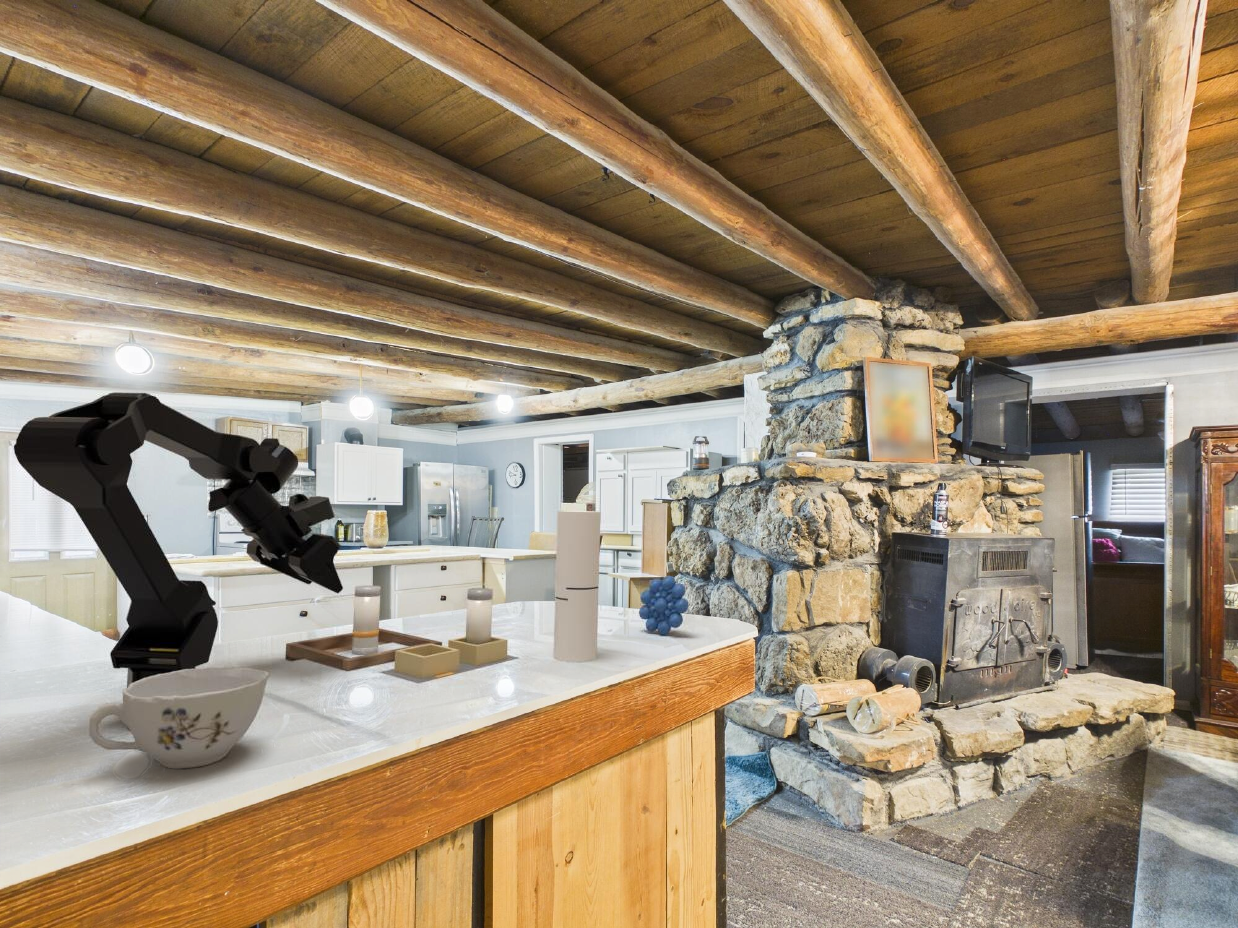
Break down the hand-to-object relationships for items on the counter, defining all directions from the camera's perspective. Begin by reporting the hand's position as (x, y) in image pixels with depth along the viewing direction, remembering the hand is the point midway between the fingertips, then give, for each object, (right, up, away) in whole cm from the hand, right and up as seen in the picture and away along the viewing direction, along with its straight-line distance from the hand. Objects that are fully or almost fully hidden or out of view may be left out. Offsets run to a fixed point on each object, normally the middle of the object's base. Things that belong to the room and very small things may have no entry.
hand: (325, 586), depth 106 cm
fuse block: (+20, -13, -1) cm, 24 cm away
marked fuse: (+4, -12, +6) cm, 14 cm away
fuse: (+23, -12, +3) cm, 26 cm away
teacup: (+2, -11, -38) cm, 39 cm away
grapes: (+55, -16, +32) cm, 66 cm away
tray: (+4, -13, +6) cm, 15 cm away
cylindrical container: (+39, -14, +6) cm, 41 cm away
